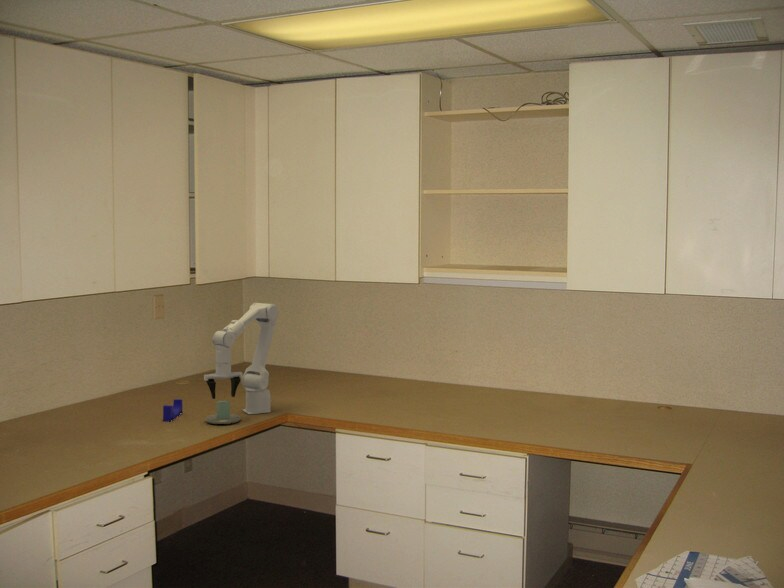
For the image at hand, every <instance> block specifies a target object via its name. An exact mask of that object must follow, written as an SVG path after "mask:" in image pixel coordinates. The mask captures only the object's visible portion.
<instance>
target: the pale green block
mask: <svg viewBox="0 0 784 588" xmlns="http://www.w3.org/2000/svg"><path fill="white" fill-rule="evenodd" d="M216 414H217V418H219V419H226V418H230V414H231V403H230V402H229V400H218V401H216Z"/></svg>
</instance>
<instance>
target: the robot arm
mask: <svg viewBox="0 0 784 588" xmlns="http://www.w3.org/2000/svg"><path fill="white" fill-rule="evenodd" d="M248 309H249V310H247V311H246V312H245V313H244V314H243V315H242V316H241V317H240V318H239V319H234V320H233V319H232V320H231V321H230V323H228V324H227V325H226V326H225V327H223V329H222V330H217V331H215V332H214V334H213V336H212V339H211V341H212V344H213V347H214V348H213V349H214V350H215V372H214V373H209V374H203V380H204V381H205V382H206V384H207V386H208V388H209V392H210V395H211V399H212V400H216V385H217V382H216V380H224V379H225V380H226V379H227V380H228V379H229V380H230V386H231V387H230V388H231V391H230V397H232V398H235V396H236V392H237V389H238V386H239V384H240V382H241V385H242V387H243V388H244V390H245V408H243V409H242V411H243V412H244V413H246V414H247V415H256V414H257V415H258V414H266V413H271V412H272V410H271V393H270V392H271V391H270V390H269V389H267V388H268V386H269V378H270V377H269V376H270V372H269V371H268V370H267V369H266V366H267V365H266V364H267V360H268V356H269V352H270V348H271V345H272V341H273V337H274V333H275V329H276V324H277V321H278V320H277V319H278V316H279V310H278V307H277V305H276V304H275V303H264V302H263V303H262V302H261V303H260V302H253V303H252V304H251V305H250V306H249V308H248ZM253 321H255V322H256V323H257V324H259V326H260V331H259V335H258V339H257V342H256V343H257V344H256V347H255V351H254V354H253V358H252V362H251V364H250V365H249V366H248V367H246V368H245V371H244V373H243V372H242V371H232V346H233V345H234V343H235V341H236V339H237V338H238V337H239V336H240V335H241V334H243V332H244V331H245V327H246V326H247V325H249V324H251V323H252V322H253Z"/></svg>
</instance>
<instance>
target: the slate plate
mask: <svg viewBox="0 0 784 588" xmlns="http://www.w3.org/2000/svg"><path fill="white" fill-rule="evenodd" d="M240 421H241V415H239V414H237V413H230V418H226V419H219V418H217V413H213V414H209V415H207V416H206V417H205V422H207V423H208V424H212V425H217V424H227V425H231V423H232V424H235V423H238V422H240Z"/></svg>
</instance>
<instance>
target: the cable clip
mask: <svg viewBox="0 0 784 588" xmlns="http://www.w3.org/2000/svg"><path fill="white" fill-rule="evenodd" d="M162 407H163V409H162V412H163V413H162V415H163V417H162V418H163V419H162V420H163V422H172V421H174V420H175V419H177V418H178V417H179V415H180V413H182V414H183V399H179V398H175V399H173V404H172V405H170V404H169V405H167V404H166V405H163V406H162ZM177 416H178V417H177ZM180 416H181V415H180ZM176 417H177V418H176ZM174 418H175V419H174ZM173 419H174V420H173ZM171 420H172V421H171Z"/></svg>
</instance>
